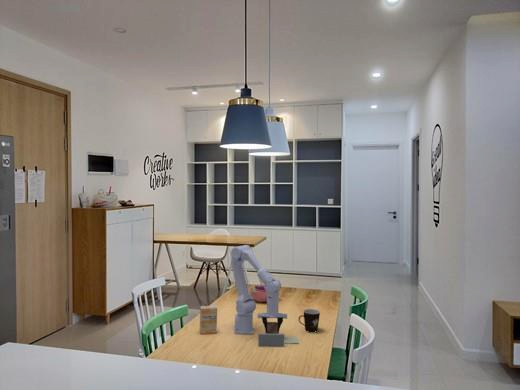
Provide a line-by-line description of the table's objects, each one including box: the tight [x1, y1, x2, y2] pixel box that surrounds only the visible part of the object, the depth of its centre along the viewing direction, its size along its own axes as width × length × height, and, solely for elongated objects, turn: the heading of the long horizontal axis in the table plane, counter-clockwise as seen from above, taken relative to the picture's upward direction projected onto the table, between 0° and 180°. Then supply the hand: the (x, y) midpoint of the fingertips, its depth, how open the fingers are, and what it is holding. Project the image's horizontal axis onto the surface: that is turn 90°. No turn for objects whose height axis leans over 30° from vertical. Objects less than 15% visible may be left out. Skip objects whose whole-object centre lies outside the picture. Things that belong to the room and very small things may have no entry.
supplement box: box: [199, 305, 218, 335], centre depth 200 cm, size 8×5×13 cm, turn 105°
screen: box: [257, 333, 285, 347], centre depth 185 cm, size 12×1×6 cm, turn 92°
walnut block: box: [266, 321, 278, 334], centre depth 194 cm, size 5×5×6 cm
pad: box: [284, 336, 300, 344], centre depth 191 cm, size 7×7×1 cm
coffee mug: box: [298, 308, 321, 333], centre depth 206 cm, size 12×9×10 cm
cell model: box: [248, 285, 267, 303], centre depth 260 cm, size 17×20×11 cm
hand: (271, 332), depth 194 cm, fingers closed on walnut block, 5 cm apart
